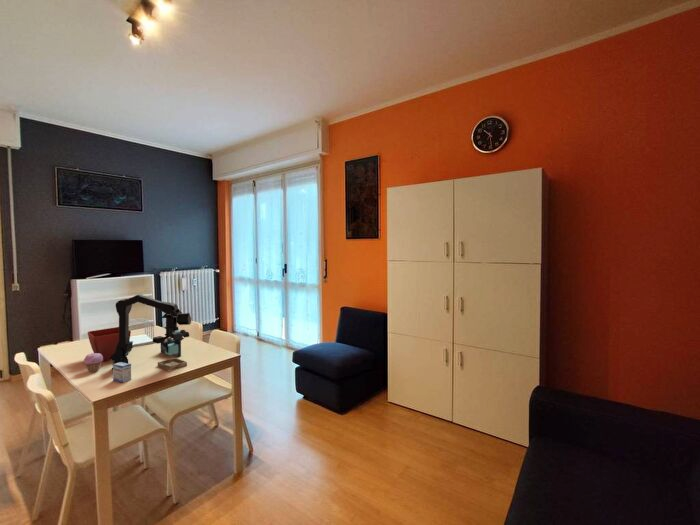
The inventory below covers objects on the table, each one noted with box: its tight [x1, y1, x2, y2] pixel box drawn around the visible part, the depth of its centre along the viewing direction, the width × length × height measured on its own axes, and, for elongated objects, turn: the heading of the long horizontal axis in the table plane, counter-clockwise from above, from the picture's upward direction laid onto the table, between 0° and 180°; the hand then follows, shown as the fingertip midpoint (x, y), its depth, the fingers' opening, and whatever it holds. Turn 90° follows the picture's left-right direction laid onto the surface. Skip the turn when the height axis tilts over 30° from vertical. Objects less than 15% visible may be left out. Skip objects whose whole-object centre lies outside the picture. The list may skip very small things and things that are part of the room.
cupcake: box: [83, 352, 104, 373], centre depth 188 cm, size 9×9×10 cm
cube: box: [164, 343, 178, 356], centre depth 196 cm, size 5×5×5 cm
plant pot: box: [87, 326, 132, 363], centre depth 211 cm, size 19×19×17 cm
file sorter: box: [129, 317, 155, 347], centre depth 246 cm, size 25×17×16 cm
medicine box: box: [112, 362, 132, 384], centre depth 175 cm, size 8×4×9 cm, turn 69°
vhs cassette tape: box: [160, 338, 182, 358], centre depth 218 cm, size 18×3×10 cm, turn 59°
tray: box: [157, 357, 188, 371], centre depth 196 cm, size 10×13×2 cm
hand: (171, 351), depth 196 cm, fingers closed on cube, 5 cm apart
